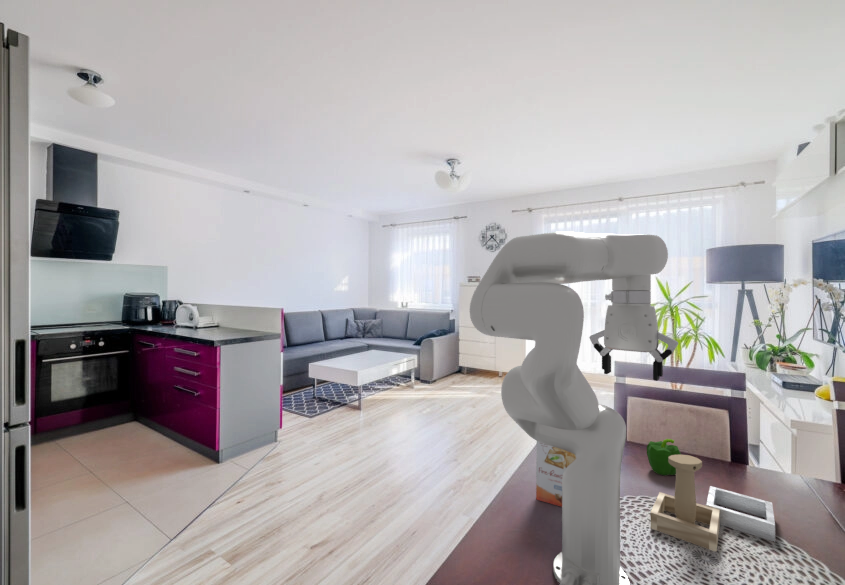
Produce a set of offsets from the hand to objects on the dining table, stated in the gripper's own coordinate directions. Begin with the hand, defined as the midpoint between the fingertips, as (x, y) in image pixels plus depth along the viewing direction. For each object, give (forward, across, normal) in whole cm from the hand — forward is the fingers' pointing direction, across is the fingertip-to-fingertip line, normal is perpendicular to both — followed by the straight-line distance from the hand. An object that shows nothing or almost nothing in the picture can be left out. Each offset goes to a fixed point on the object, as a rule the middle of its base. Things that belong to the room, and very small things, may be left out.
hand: (631, 376), depth 82 cm
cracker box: (+34, -14, 0) cm, 36 cm away
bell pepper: (+34, +1, +35) cm, 48 cm away
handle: (+34, +9, +8) cm, 36 cm away
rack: (+33, +9, +8) cm, 35 cm away
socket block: (+33, +18, +20) cm, 43 cm away
